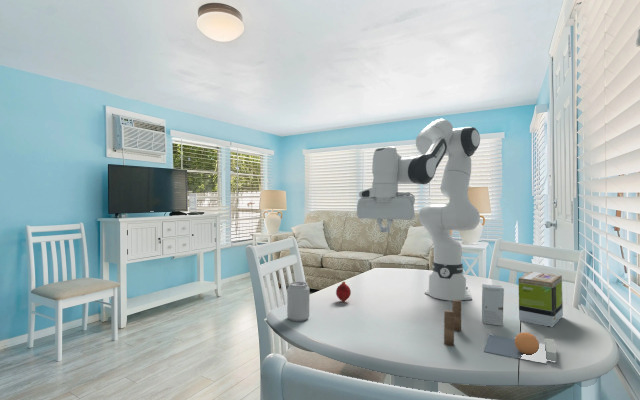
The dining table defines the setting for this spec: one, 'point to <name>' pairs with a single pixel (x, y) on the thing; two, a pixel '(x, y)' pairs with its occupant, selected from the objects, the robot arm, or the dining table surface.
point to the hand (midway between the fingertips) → (384, 232)
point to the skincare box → (492, 304)
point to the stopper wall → (550, 349)
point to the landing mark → (502, 346)
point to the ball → (526, 343)
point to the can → (298, 301)
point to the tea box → (540, 298)
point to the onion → (343, 292)
